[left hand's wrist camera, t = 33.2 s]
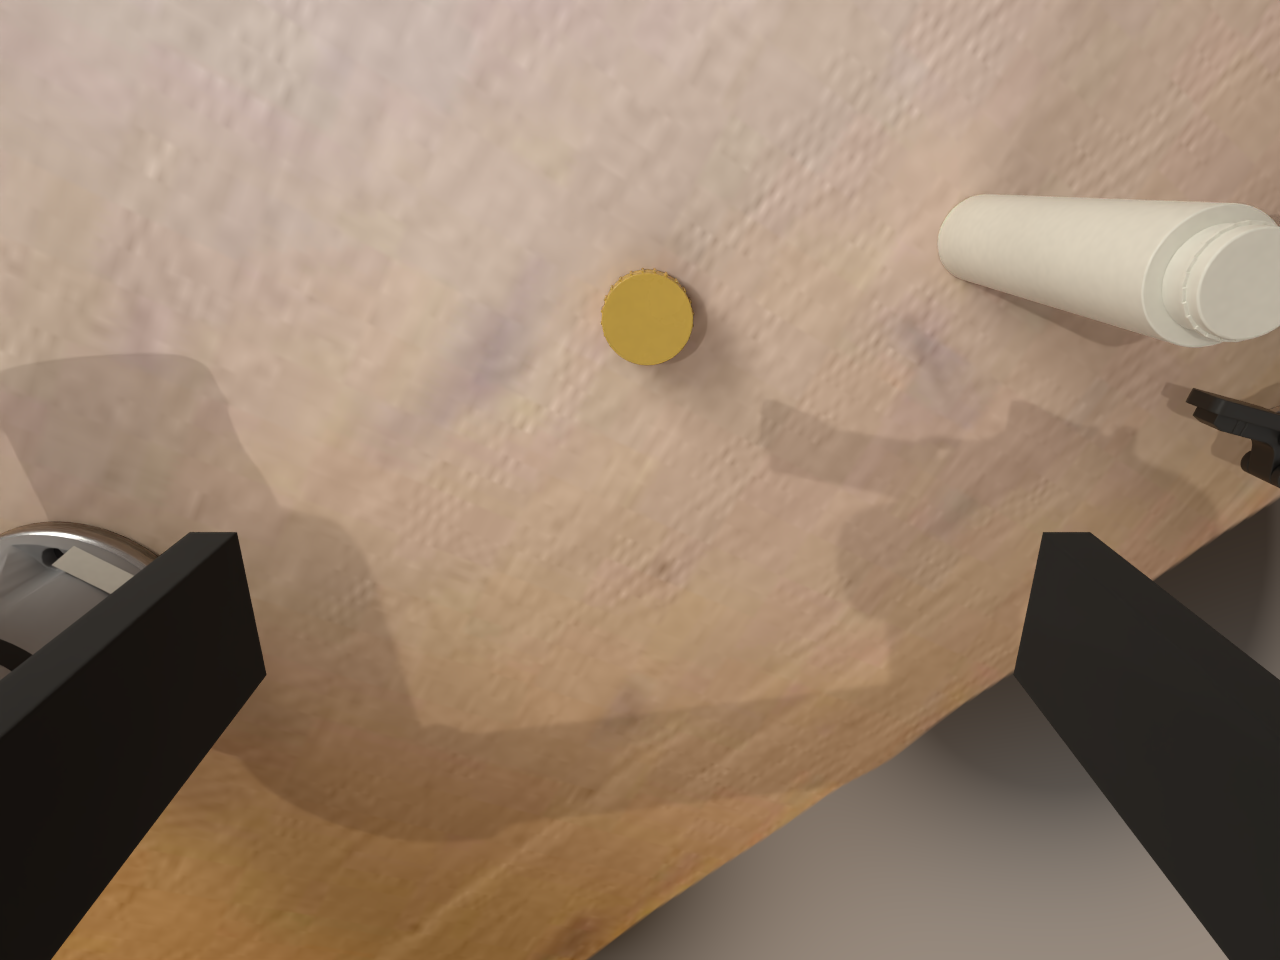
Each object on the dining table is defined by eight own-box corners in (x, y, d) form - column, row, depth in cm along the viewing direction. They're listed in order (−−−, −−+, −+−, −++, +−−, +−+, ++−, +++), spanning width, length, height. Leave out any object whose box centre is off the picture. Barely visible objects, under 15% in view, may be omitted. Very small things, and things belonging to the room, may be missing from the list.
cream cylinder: (983, 296, 40) (1250, 386, 23) (919, 252, 39) (1145, 308, 22) (1039, 224, 39) (1367, 259, 21) (974, 176, 38) (1261, 172, 21)
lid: (707, 332, 41) (710, 339, 39) (629, 374, 42) (628, 382, 40) (666, 251, 39) (667, 254, 38) (585, 295, 40) (583, 301, 38)
